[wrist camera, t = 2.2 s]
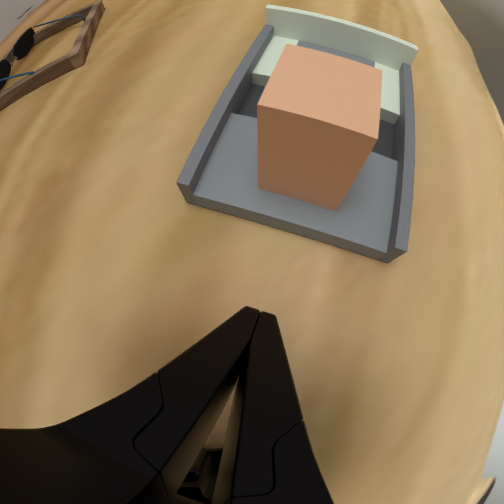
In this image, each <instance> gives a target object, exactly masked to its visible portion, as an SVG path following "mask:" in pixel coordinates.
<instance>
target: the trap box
mask: <svg viewBox="0 0 504 504" xmlns="http://www.w3.org/2000/svg"><path fill="white" fill-rule="evenodd" d="M286 44H291V45H296V46H301V47H305V48H310V49H314V50H318V51H322V52H326V53H329V54H333V55H337V56H340V57H344V58H347V59H350V60H353V61H357V62H360V63H363V64H366V65H369V66H371V67H374V68H377V69H380V70H382V92H381V108H380V121H379V132H378V140H377V142H376V143H375V145H374V147H373V149H372V151H371V152H370V154H369V156H368V158H367V159H366V161H365V163H364V165H363V166H362V168H361V170H360V172H359V173H358V175H357V177H356V179H355V180H354V182H353V184H352V185H351V187H350V189H349V191H348V192H347V194H346V196H345V197H344V199H343V201H342V202H341V204H340V206H339V207H338V209H337V211H333V210H330V209H327V208H324V207H320V206H317V205H314V204H311V203H307V202H304V201H301V200H297V199H294V198H291V197H287V196H284V195H280V194H277V193H273V192H270V191H266V190H263V189H259V188H258V127H257V104H258V102H259V100H260V97H261V95H262V93H263V91H264V89H265V87H266V85H267V83H268V80H269V78H270V76H271V74H272V72H273V70H274V68H275V66H276V64H277V62H278V60H279V58H280V56H281V54H282V52H283V50H284V48H285V46H286ZM417 52H418V47H417V46H416V45H413V44H411V43H409V42H406V41H404V40H401V39H399V38H396V37H394V36H391V35H389V34H386V33H383V32H380V31H377V30H375V29H372V28H369V27H366V26H362V25H359V24H356V23H353V22H349V21H346V20H342V19H338V18H335V17H331V16H327V15H322V14H318V13H313V12H309V11H304V10H298V9H293V8H287V7H281V6H274V5H267V6H266V8H265V26H264V27H263V29H262V30H261V32H260V33H259V35H258V36H257V38H256V39H255V41H254V42H253V44H252V45H251V47H250V48H249V50H248V52H247V53H246V55H245V56H244V58H243V60H242V61H241V63H240V64H239V66H238V68H237V69H236V71H235V73H234V74H233V76H232V78H231V79H230V81H229V83H228V84H227V86H226V88H225V89H224V91H223V93H222V95H221V96H220V98H219V100H218V102H217V104H216V105H215V107H214V109H213V111H212V113H211V114H210V116H209V118H208V120H207V122H206V124H205V126H204V127H203V129H202V131H201V133H200V135H199V137H198V139H197V141H196V143H195V145H194V147H193V149H192V151H191V153H190V155H189V157H188V159H187V161H186V163H185V165H184V167H183V169H182V171H181V173H180V175H179V178H178V180H177V182H176V183H177V185H178V187H179V189H180V191H181V192H182V194H183V196H184V198H185V200H186V202H187V203H190V204H194V205H198V206H201V207H205V208H208V209H212V210H215V211H219V212H223V213H226V214H230V215H233V216H237V217H240V218H244V219H247V220H250V221H254V222H257V223H261V224H264V225H267V226H271V227H274V228H278V229H281V230H284V231H288V232H291V233H294V234H297V235H301V236H304V237H307V238H310V239H314V240H317V241H320V242H323V243H327V244H330V245H333V246H336V247H339V248H342V249H346V250H349V251H352V252H355V253H358V254H361V255H364V256H367V257H370V258H373V259H376V260H379V261H382V262H385V263H389V262H390V261H392V260H394V259H395V258H397V257H399V256H400V255H402V254H404V253H405V252H407V247H408V240H409V232H410V223H411V213H412V201H413V187H414V166H415V115H414V95H413V82H412V71H411V64H412V62H413V60H414V58H415V56H416V54H417Z"/></svg>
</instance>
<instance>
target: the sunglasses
mask: <svg viewBox="0 0 504 504" xmlns="http://www.w3.org/2000/svg"><path fill="white" fill-rule="evenodd" d="M77 16H81V17H82V19H83V20H84V22H85V20H86V19H85V18H84V16H83V15H81V14H79V15H74V16H70V17H65V18H61V19H57V20H54V21H50V22H47V23H44V24H40V25H38V26H41V25H45V24H48V23H52V22H56V21H60V20H64V19H68V18H72V17H77ZM38 26H35V27H38ZM27 30H28V31H27ZM27 30H26V31H25V32H24V33H23V34H22V35H21V36H20V37H21V38H20V39H19V40H17V41H16V42H17V43H15V44H14V45H15V46H13V50H12V53H13V55H12V56H14V58H15V59H16V60H20V59H22V58H23V57H25V56H26V55H27V53H28V52H29V51H30V49H31V48H32V46H33V44H34V37H33V35H34V34H35V32H34V30H33V29H32V28H29V29H27ZM12 56H11V57H12ZM11 57H10V58H11ZM0 62H1V63H0V90H1V89H2V87H3V86H4V85H5V83H6V81H7V79H11V78H14V77H18V76H23V75H27V74H34V73H35V72H33V71H32V72H27V73H22V74H18V75H14V76H11V77H9V74H10V71H11V66H13V64H12V62H10V60H9V62H10V63H9V62H8V61H7V59H3V60H2V61H0ZM10 64H11V66H10Z"/></svg>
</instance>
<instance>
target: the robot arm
mask: <svg viewBox="0 0 504 504" xmlns="http://www.w3.org/2000/svg"><path fill="white" fill-rule="evenodd" d="M259 314H260V315H259ZM238 377H239V378H238ZM237 380H238V382H237ZM236 383H237V385H236ZM235 385H236V389H235V394H234V399H233V404H232V409H231V413H230V418H229V423H228V428H227V433H226V438H225V443H224V447H223V448H221V449H212V450H207V449H206V448H202V447H203V445H204V443H205V442H206V440H207V438H208V436H209V434H210V433H211V431H212V429H213V427H214V425H215V423H216V421H217V420H218V418H219V416H220V414H221V412H222V410H223V408H224V406H225V405H226V403H227V401H228V399H229V397H230V395H231V393H232V391H233V389H234V387H235ZM302 420H303V415H302V411H301V408H300V404H299V400H298V396H297V393H296V389H295V385H294V381H293V378H292V374H291V370H290V366H289V363H288V359H287V355H286V351H285V348H284V344H283V340H282V336H281V333H280V329H279V325H278V322H277V318H276V316H275V315H274V314H271V313H267V312H264V311H262V312H260V311H259V310H258V309H255V308H252V307H248V306H245V307H244V308H242V309H241V310H240V311H238V312H237V313H236V314H234V315H233V316H232V317H230V318H229V319H228V320H226V321H225V322H224V323H222V324H221V325H220V326H218V327H217V328H216V329H214V330H213V331H212V332H210V333H209V334H208V335H206V336H205V337H204V338H202V339H201V340H199V341H198V342H197V343H195V344H194V345H193V346H191V347H190V348H189V349H187V350H186V351H184V352H183V353H182V354H180V355H179V356H177V357H176V358H175V359H173V360H172V361H171V362H169V363H168V364H166V365H165V366H163V367H162V368H161V369H159V370H158V371H157V373H156V372H155V373H153V374H152V375H150V376H149V377H148V378H146V379H145V380H143V381H142V382H140V383H139V384H137V385H136V386H134V387H132V388H131V389H129V390H128V391H126V392H124V393H122V394H120V395H119V396H117V397H115V398H113V399H111V400H109V401H107V402H105V403H103V404H101V405H99V406H97V407H95V408H93V409H91V410H89V411H86V412H84V413H82V414H80V415H78V416H76V417H74V418H71V419H69V420H67V421H65V422H62V423H60V424H57V425H54V426H50V427H45V428H38V429H3V428H0V504H334V502H333V500H332V498H331V495H330V493H329V491H328V488H327V486H326V484H325V481H324V479H323V477H322V474H321V472H320V469H319V467H318V464H317V461H316V459H315V456H314V454H313V450H312V447H311V444H310V440H309V437H308V434H307V430H306V426H305V422H304V421H302Z"/></svg>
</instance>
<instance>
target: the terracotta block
mask: <svg viewBox="0 0 504 504" xmlns="http://www.w3.org/2000/svg"><path fill="white" fill-rule="evenodd" d="M381 92H382V70H380V69H377V68H374V67H371V66H369V65H366V64H363V63H360V62H357V61H353V60H350V59H347V58H344V57H340V56H337V55H333V54H329V53H326V52H322V51H318V50H314V49H310V48H305V47H301V46H296V45H291V44H286V46H285V48H284V50H283V52H282V54H281V56H280V58H279V60H278V62H277V64H276V66H275V68H274V70H273V72H272V74H271V76H270V78H269V80H268V83H267V85H266V87H265V89H264V91H263V93H262V95H261V97H260V100H259V102H258V104H257V127H258V188H259V189H263V190H266V191H270V192H273V193H277V194H280V195H284V196H287V197H291V198H294V199H297V200H301V201H304V202H307V203H311V204H314V205H317V206H320V207H324V208H327V209H330V210H333V211H337V209H338V207H339V206H340V204H341V202H342V201H343V199H344V197H345V196H346V194H347V192H348V191H349V189H350V187H351V185H352V184H353V182H354V180H355V179H356V177H357V175H358V173H359V172H360V170H361V168H362V166H363V165H364V163H365V161H366V159H367V158H368V156H369V154H370V152H371V151H372V149H373V147H374V145H375V143H376V142H377V140H378V132H379V121H380V108H381Z"/></svg>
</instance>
